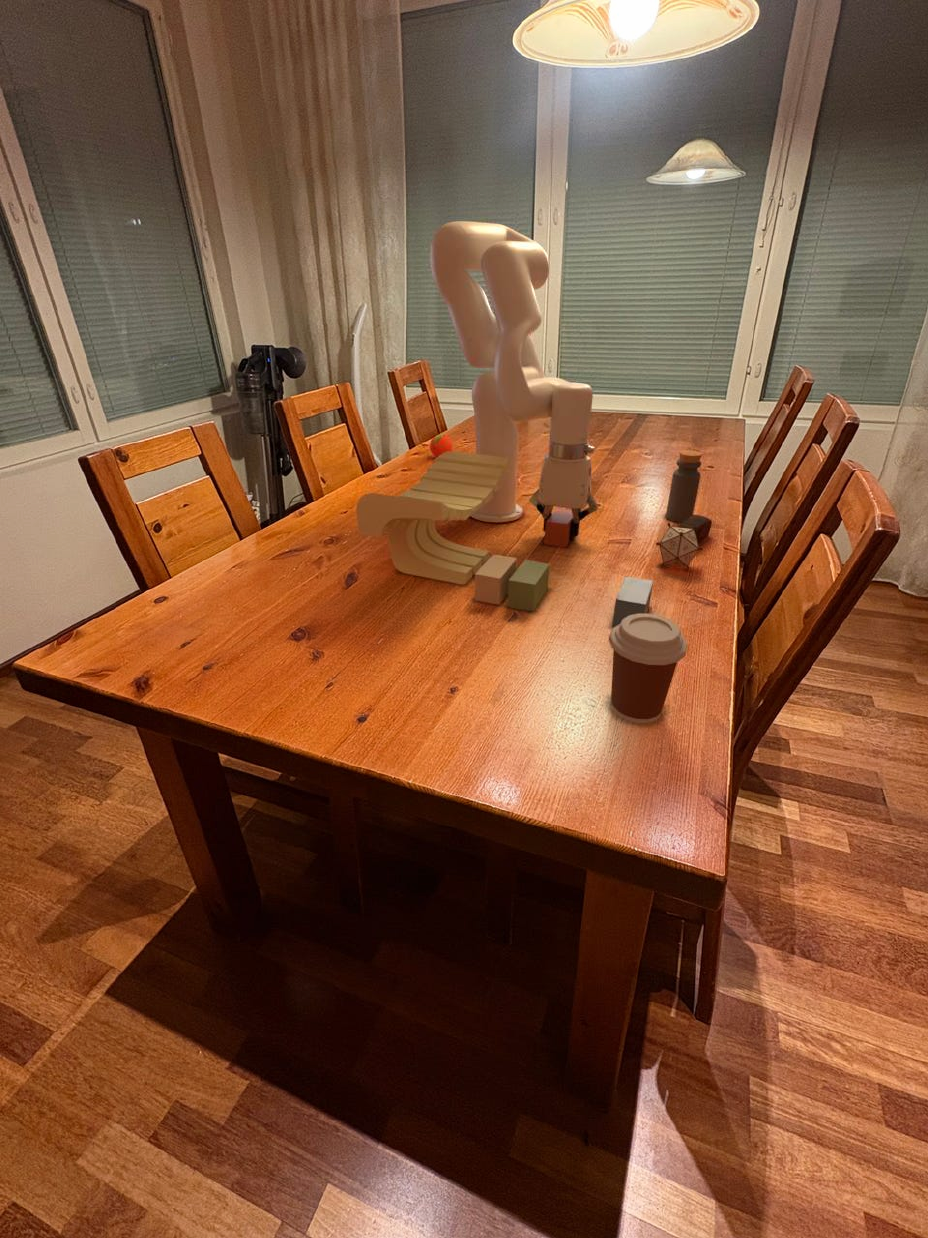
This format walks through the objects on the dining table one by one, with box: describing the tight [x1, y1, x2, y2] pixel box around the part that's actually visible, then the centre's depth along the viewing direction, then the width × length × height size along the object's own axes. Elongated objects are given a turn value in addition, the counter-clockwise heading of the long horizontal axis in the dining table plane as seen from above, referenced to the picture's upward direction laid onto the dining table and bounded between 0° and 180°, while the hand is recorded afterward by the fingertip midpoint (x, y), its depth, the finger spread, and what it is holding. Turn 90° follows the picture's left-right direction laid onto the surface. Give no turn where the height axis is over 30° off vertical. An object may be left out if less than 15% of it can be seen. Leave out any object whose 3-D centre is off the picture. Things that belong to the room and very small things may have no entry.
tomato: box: [429, 434, 453, 458], centre depth 184 cm, size 8×7×7 cm
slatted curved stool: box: [355, 450, 509, 586], centre depth 112 cm, size 30×16×18 cm, turn 156°
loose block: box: [543, 507, 573, 548], centre depth 127 cm, size 4×9×5 cm, turn 157°
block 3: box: [611, 576, 654, 628], centre depth 97 cm, size 4×9×5 cm, turn 157°
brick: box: [676, 514, 713, 545], centre depth 126 cm, size 11×4×5 cm, turn 141°
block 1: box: [474, 554, 518, 606], centre depth 105 cm, size 4×9×5 cm, turn 157°
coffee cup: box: [608, 613, 688, 724], centre depth 75 cm, size 9×9×12 cm
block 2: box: [507, 559, 551, 612], centre depth 103 cm, size 4×9×5 cm, turn 157°
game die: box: [655, 522, 704, 571], centre depth 114 cm, size 9×8×10 cm
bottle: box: [665, 450, 703, 523], centre depth 136 cm, size 6×6×15 cm
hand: (560, 535), depth 128 cm, fingers closed on loose block, 4 cm apart
